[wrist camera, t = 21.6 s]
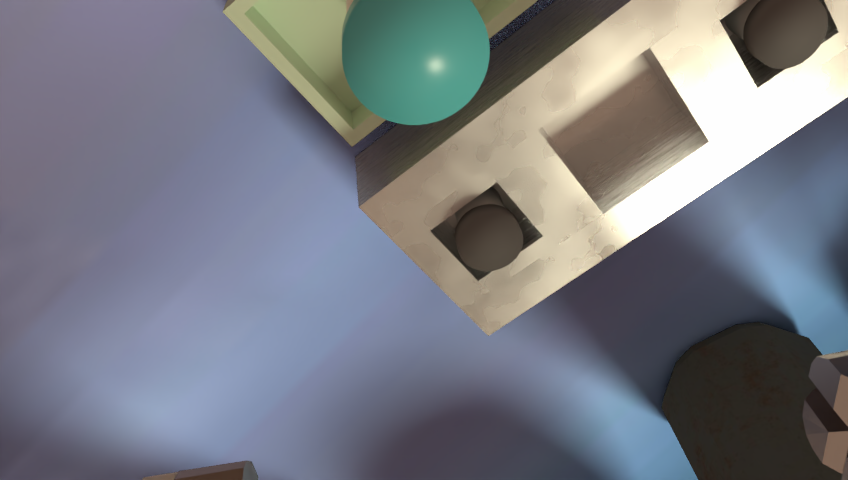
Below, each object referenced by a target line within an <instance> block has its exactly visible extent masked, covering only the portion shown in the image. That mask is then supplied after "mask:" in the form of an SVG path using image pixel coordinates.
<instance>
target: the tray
mask: <svg viewBox="0 0 848 480" xmlns="http://www.w3.org/2000/svg"><path fill="white" fill-rule="evenodd" d="M537 1H538V0H472V2H473V3H474V5H475V7H476V8H477V10H478V12H479V14H480V16H481V18H482V20H483V22H484V24H485V27H486V30H487V33H488V38H489V39H490V38H491V37H492V36H493V35H495V34H496V33H497V32H498V31H500V30H501V29H502V28H504V27H505V26H506V25H507V24H509V23H510V22H511V21H512V20H514V19H515V18H516V17H518V16H519V15H520V14H521V13H523V12H524V11H525V10H526V9H528V8H529V7H530V6H531V5H533V4H534V3H535V2H537ZM223 13H224V14H225V15H226V16H227V17H228V18H229V19H230V20H231V21H232V22H233V23H234V24H235V25H236V26H237V27H238V28H239V29H240V30H241V32H242V33H243V34H244V35H245V36H246V37H247V38H248V39H249V40H250V41H251V42H252V43H253V44H254V45H255V46H256V47H257V48H258V49H259V50H260V51H261V52H262V53H263V54H264V56H265V57H266V58H267V59H268V60H269V61H270V62H271V63H272V64H273V65H274V66H275V67H276V68H277V69H278V70H279V71H280V72H281V73H282V74H283V75H284V76H285V77H286V79H287V80H288V81H289V82H290V83H291V84H292V85H293V86H294V87H295V88H296V89H297V90H298V91H299V92H300V93H301V94H302V95H303V96H304V97H305V98H306V99H307V100H308V101H309V103H310V104H311V105H312V106H313V107H314V108H315V109H316V110H317V111H318V112H319V113H320V114H321V115H322V116H323V117H324V118H325V119H326V120H327V121H328V122H329V123H330V124H331V126H332V127H333V128H334V129H335V130H336V131H337V132H338V133H339V134H340V135H341V136H342V137H343V138H344V139H345V140H346V141H347V142H348V143H349V144H350V145H351V146H352V147H353V146H354V145H355V144H356V143H358V142H359V141H360V140H361V139H363V138H364V137H365V136H367V135H368V134H369V133H370V132H372V131H373V130H374V129H375V128H377V127H378V126H379V125H381V124H382V123H383V122H384V121H386V119H383V118H381V117H379V116H378V115H376V114H374V113H373V112H371V111H370V110H369V109H367V108H366V107H365V106H364V105H363V104H362V103H361V102H360V101H359V100H358V99H357V97H356V96H355V95H354V93H353V91H352V90H351V88H350V86H349V84H348V82H347V80H346V77H345V73H344V70H343V63H342V29H343V23H344V20H345V16H346V0H227V2H226V4H225V7H224V10H223Z"/></svg>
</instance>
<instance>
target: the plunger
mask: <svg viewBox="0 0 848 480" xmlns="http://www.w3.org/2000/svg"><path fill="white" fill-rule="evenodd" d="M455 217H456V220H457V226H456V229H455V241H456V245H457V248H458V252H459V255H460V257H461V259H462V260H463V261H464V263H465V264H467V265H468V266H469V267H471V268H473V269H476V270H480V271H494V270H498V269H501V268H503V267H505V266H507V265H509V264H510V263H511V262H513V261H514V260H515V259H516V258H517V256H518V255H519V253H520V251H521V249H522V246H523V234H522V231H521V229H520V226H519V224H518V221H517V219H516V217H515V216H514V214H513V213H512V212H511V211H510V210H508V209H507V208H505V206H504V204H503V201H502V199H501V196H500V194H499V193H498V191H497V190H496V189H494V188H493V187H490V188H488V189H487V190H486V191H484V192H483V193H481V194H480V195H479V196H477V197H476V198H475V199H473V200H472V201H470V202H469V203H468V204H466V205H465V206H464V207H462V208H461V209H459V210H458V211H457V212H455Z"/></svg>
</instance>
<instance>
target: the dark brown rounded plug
mask: <svg viewBox="0 0 848 480" xmlns="http://www.w3.org/2000/svg"><path fill="white" fill-rule="evenodd" d="M724 20H725V24H726V26H727V27H728V29H729V30H730V31H731V32H733V33H734V34H736V35H737V36H738V37H740V38H741V39H743V40H744V44H745V46H746V49H747V50H748V52H749V53H750V54H751V55H752V56H754V57H755V58H757V59H758V60H759V61H761V62H762V63H764V64H765V65H767V66H769V67H771V68H775V69H787V68H791V67H794V66H797V65H799V64H801V63H802V62H804V61H805V60H807V59H808V58H809V57H810V56H812V55H813V54H814V53H815V51H816V50H817V49H818V48H819V46H820V45H821V43H822V41H823V39H824V37H825V35H826V32H827V27H828V16H827V12H826V9H825V8H824V6H823V5H822V3H821V2H820V1H818V0H747V1H746V2H744V3H743V4H742V5H740V6H739V7H738V8H736V9H735V10H733V11H732V12H731V13H729V14H728V15H727V16H725V17H724Z"/></svg>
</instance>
